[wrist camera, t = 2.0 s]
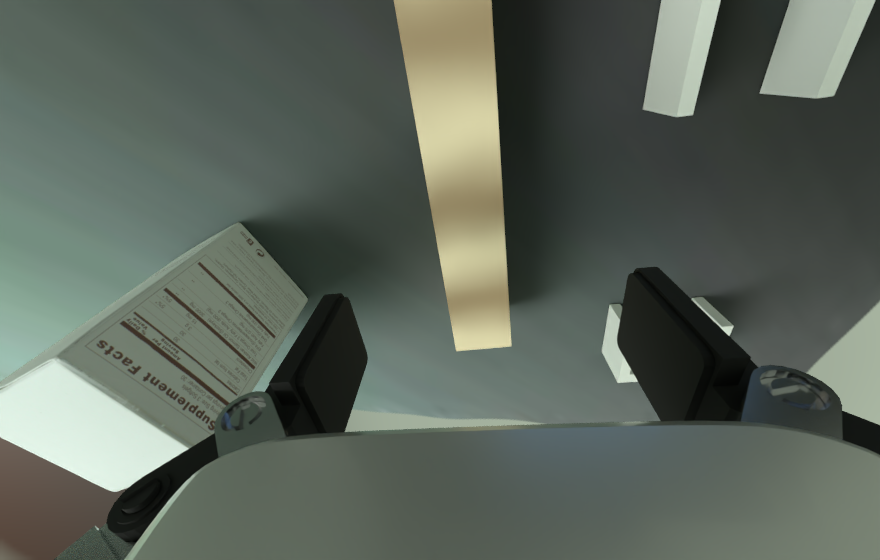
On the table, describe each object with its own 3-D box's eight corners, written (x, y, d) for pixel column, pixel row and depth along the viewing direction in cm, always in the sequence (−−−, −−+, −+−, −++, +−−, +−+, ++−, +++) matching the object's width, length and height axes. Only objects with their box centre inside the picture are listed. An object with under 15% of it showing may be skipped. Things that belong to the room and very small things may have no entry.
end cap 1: (609, 304, 25) (628, 333, 22) (702, 296, 24) (733, 326, 21) (601, 351, 27) (617, 382, 25) (685, 345, 27) (711, 377, 24)
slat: (399, -35, 15) (381, -67, 12) (478, -52, 15) (486, -92, 11) (456, 309, 26) (456, 351, 22) (502, 304, 25) (511, 346, 22)
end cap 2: (663, -13, 15) (708, -30, 12) (820, -40, 14) (903, -65, 12) (642, 109, 18) (676, 117, 15) (774, 91, 17) (833, 96, 14)
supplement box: (243, 331, 28) (110, 497, 17) (168, 260, 24) (-58, 414, 14) (313, 299, 26) (212, 465, 15) (242, 217, 22) (44, 358, 11)
